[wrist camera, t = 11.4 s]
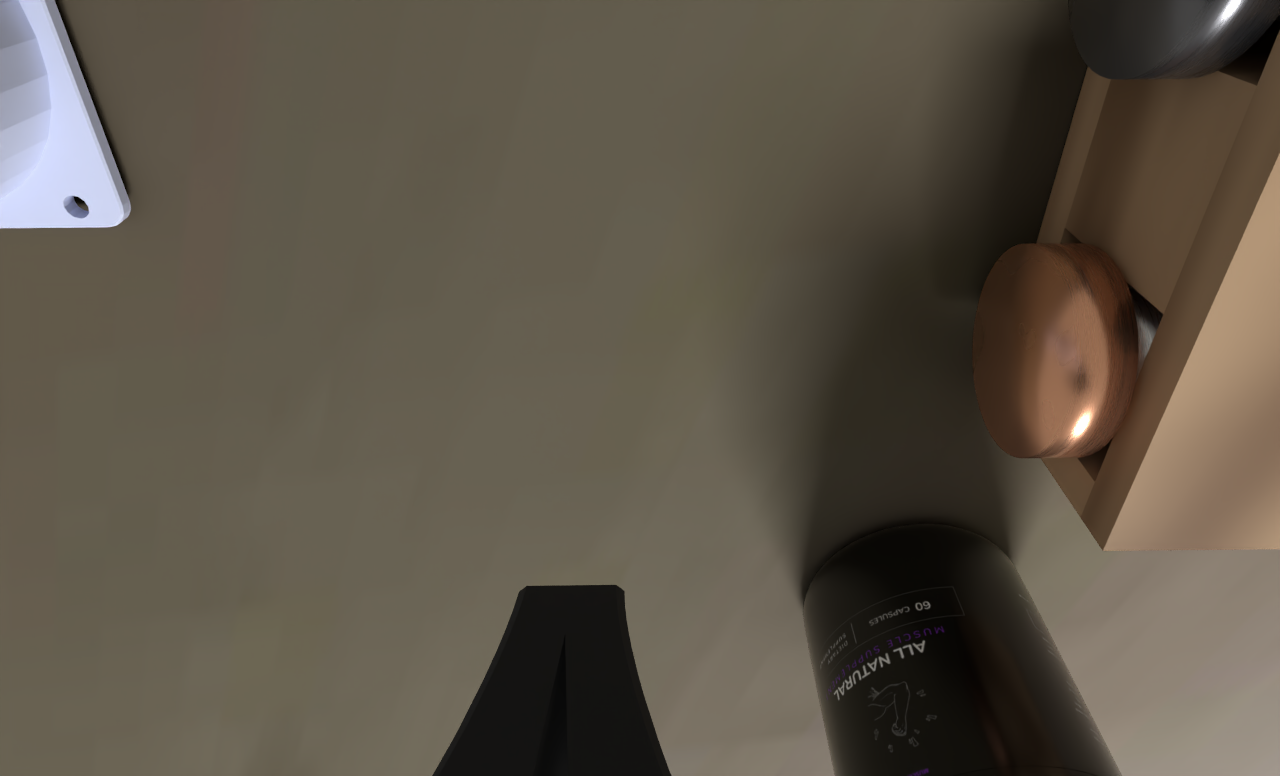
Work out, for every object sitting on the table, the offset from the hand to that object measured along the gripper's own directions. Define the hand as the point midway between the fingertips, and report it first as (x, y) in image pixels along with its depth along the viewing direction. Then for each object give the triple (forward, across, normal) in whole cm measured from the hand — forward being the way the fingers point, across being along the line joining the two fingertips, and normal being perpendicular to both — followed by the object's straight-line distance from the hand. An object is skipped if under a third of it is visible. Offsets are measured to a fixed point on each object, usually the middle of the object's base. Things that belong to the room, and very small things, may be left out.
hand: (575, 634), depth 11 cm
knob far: (+10, -13, 0) cm, 16 cm away
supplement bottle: (+11, -10, +11) cm, 18 cm away
